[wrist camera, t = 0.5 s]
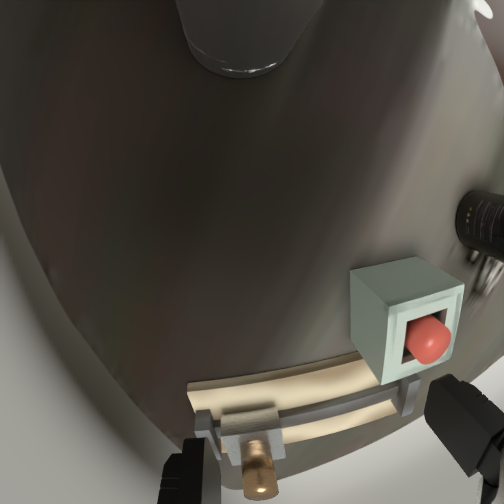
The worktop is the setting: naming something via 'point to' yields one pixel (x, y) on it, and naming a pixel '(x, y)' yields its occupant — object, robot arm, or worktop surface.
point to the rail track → (303, 398)
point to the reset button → (427, 338)
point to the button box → (399, 312)
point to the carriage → (254, 449)
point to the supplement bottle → (482, 223)
